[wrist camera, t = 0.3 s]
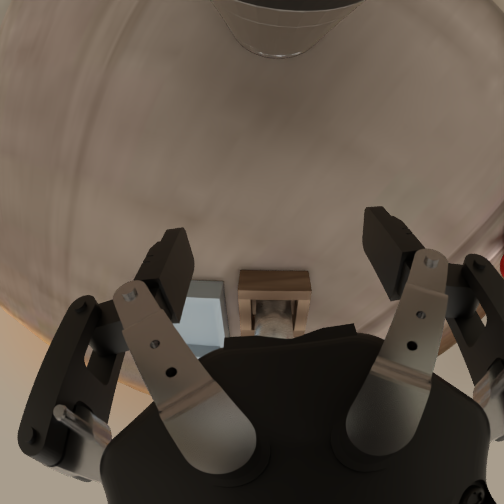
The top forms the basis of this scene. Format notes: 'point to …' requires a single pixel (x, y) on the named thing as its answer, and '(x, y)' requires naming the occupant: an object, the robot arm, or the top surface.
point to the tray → (204, 317)
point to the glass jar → (274, 319)
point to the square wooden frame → (273, 296)
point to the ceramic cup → (502, 266)
